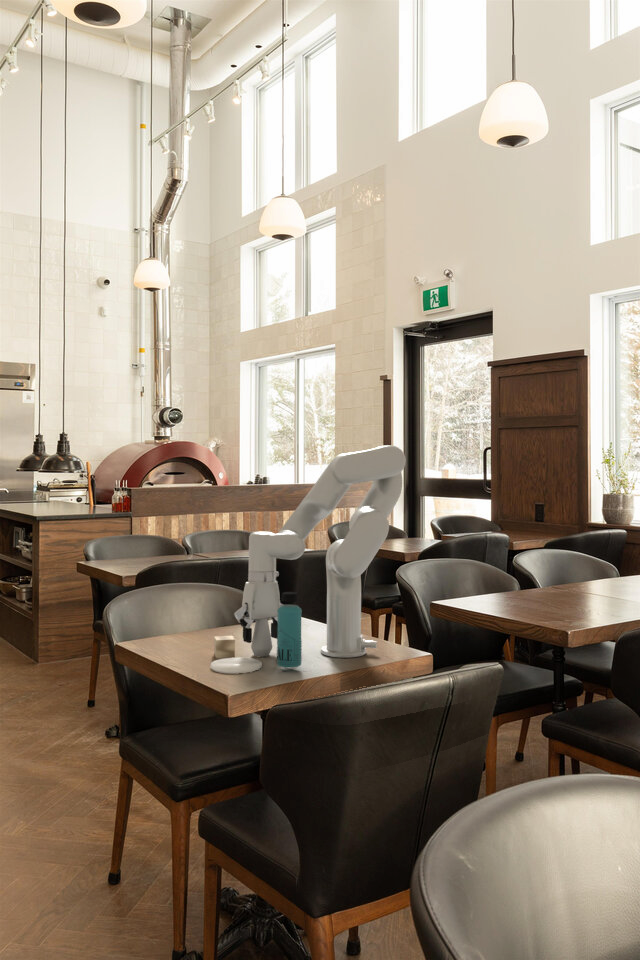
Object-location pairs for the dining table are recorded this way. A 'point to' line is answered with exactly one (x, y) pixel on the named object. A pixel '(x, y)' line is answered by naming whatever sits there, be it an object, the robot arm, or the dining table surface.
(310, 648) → the dining table surface
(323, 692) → the dining table surface
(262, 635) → the salt shaker
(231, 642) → the oak block
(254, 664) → the side plate
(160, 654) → the dining table surface
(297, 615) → the beverage bottle
